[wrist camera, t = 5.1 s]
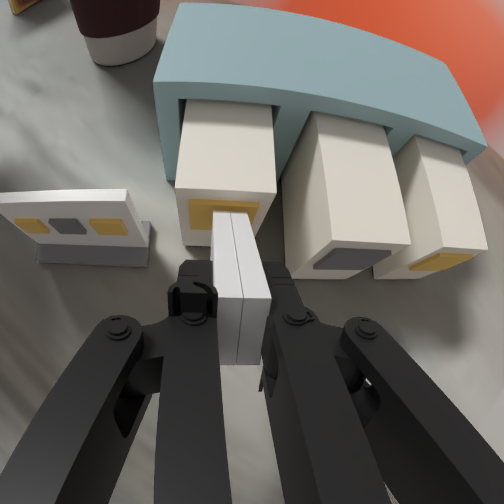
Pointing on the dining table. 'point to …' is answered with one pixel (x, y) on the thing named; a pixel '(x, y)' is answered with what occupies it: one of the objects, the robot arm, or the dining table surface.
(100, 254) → the card
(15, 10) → the candy box
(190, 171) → the button
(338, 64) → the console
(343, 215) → the middle button
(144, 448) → the dining table surface
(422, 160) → the button
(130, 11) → the coffee cup
